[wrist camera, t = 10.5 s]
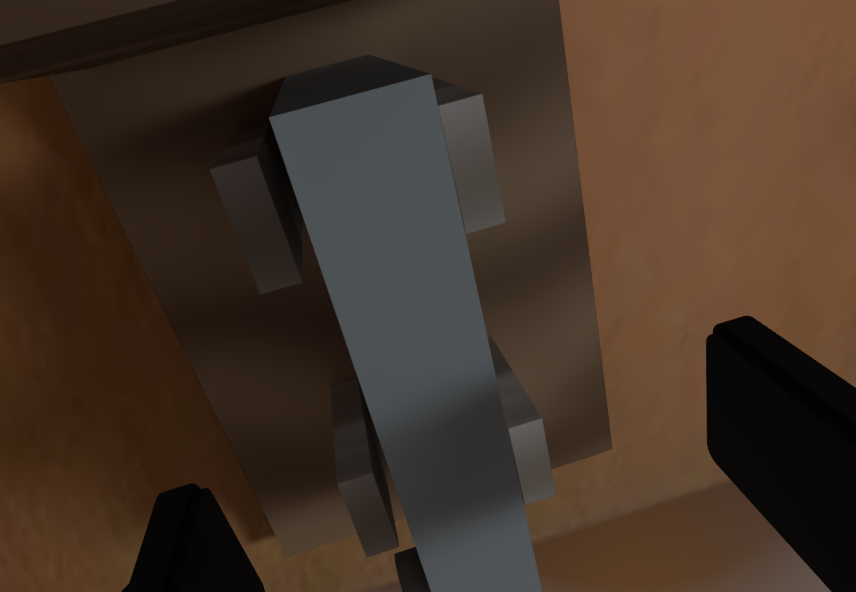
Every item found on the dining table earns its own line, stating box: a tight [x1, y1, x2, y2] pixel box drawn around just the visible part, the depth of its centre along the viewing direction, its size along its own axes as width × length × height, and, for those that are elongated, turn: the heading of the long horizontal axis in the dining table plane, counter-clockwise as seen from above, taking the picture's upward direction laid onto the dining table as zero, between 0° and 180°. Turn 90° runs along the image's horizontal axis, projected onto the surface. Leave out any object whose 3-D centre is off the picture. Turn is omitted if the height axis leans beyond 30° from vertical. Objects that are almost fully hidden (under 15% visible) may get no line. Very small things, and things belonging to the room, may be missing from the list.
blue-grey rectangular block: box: [269, 55, 542, 592], centre depth 15 cm, size 14×3×9 cm, turn 13°
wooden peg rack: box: [0, 0, 612, 557], centre depth 15 cm, size 20×14×14 cm
